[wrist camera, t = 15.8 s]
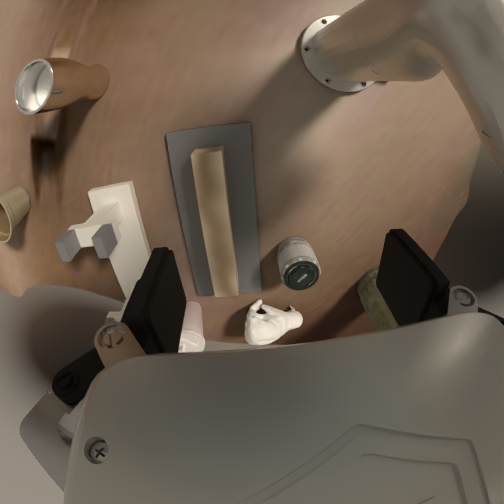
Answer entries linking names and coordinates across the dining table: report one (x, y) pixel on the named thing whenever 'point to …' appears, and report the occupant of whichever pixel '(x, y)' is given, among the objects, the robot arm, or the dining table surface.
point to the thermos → (375, 301)
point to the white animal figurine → (269, 323)
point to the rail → (216, 218)
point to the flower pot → (12, 211)
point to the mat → (240, 200)
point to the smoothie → (192, 329)
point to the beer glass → (58, 84)
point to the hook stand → (112, 236)
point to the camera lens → (297, 264)
